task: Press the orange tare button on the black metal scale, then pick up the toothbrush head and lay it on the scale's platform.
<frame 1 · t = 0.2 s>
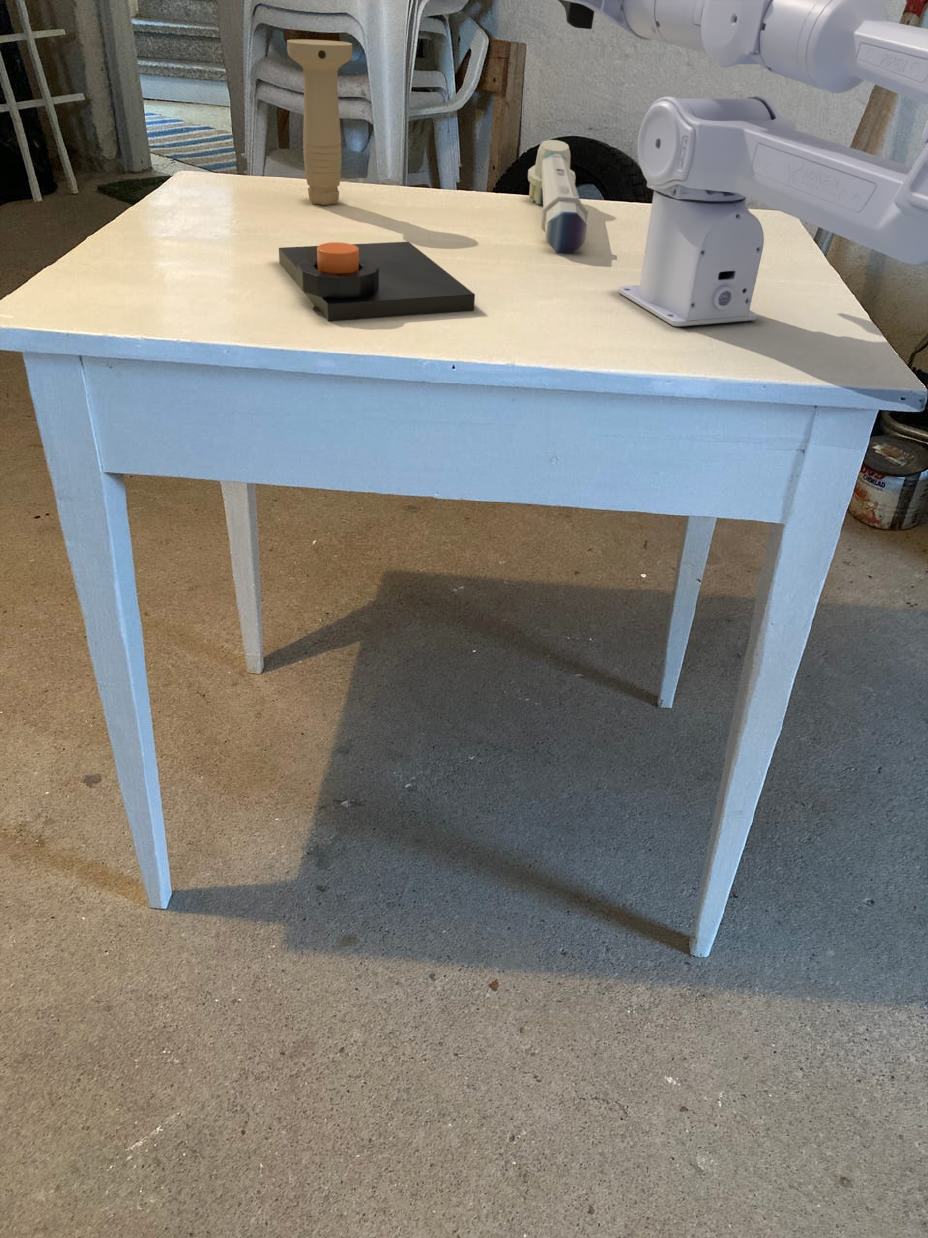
handle: (323, 204, 107), on the table
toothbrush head: (554, 223, 105), on the table
tare button: (338, 259, 76), point 4 cm above the table, slide at 0.1 cm
scale: (372, 286, 83), on the table
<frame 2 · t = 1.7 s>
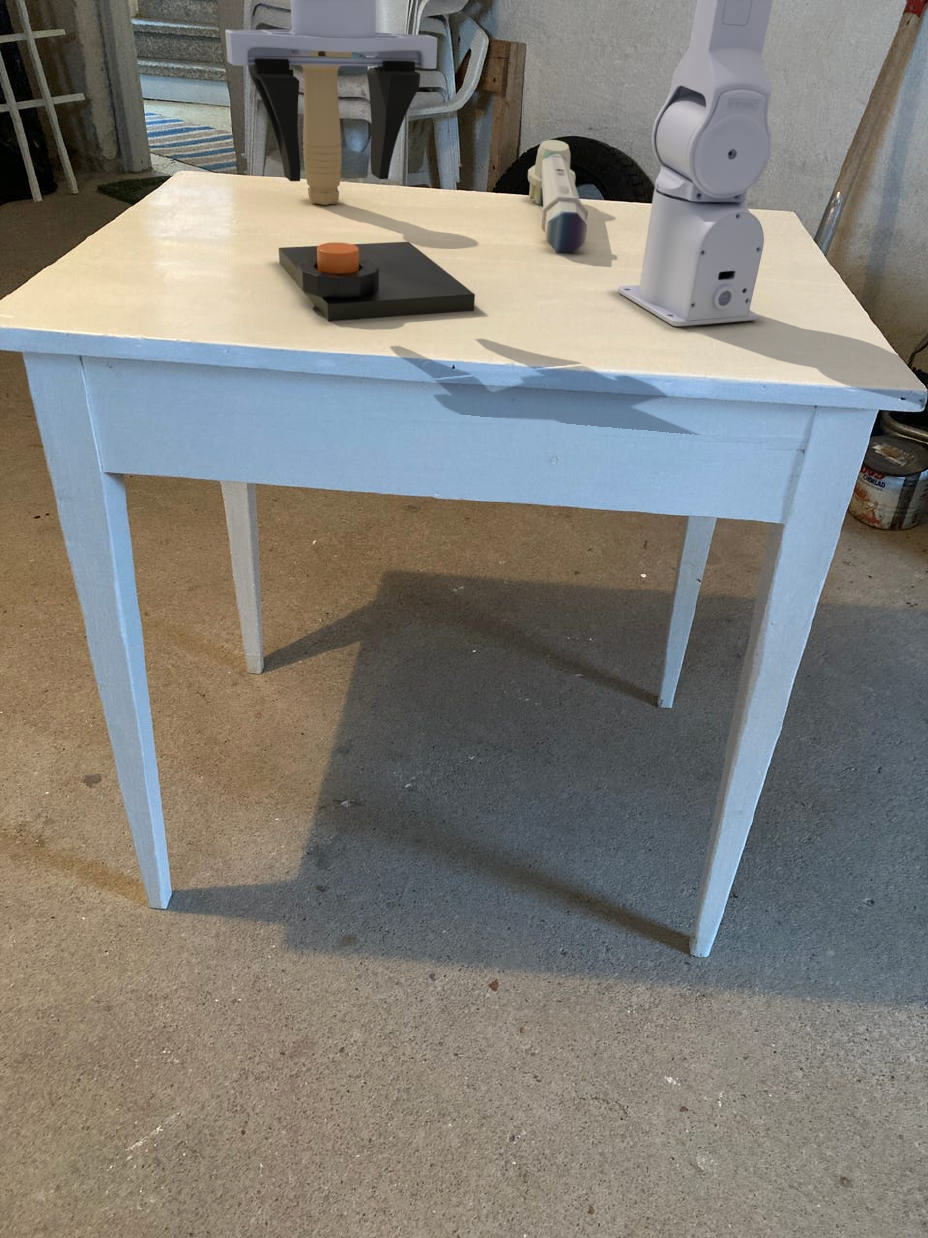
hand: (336, 177, 73), 9 cm above the table, tool pointing down, fingers open, 6 cm apart
nothing on the table moved.
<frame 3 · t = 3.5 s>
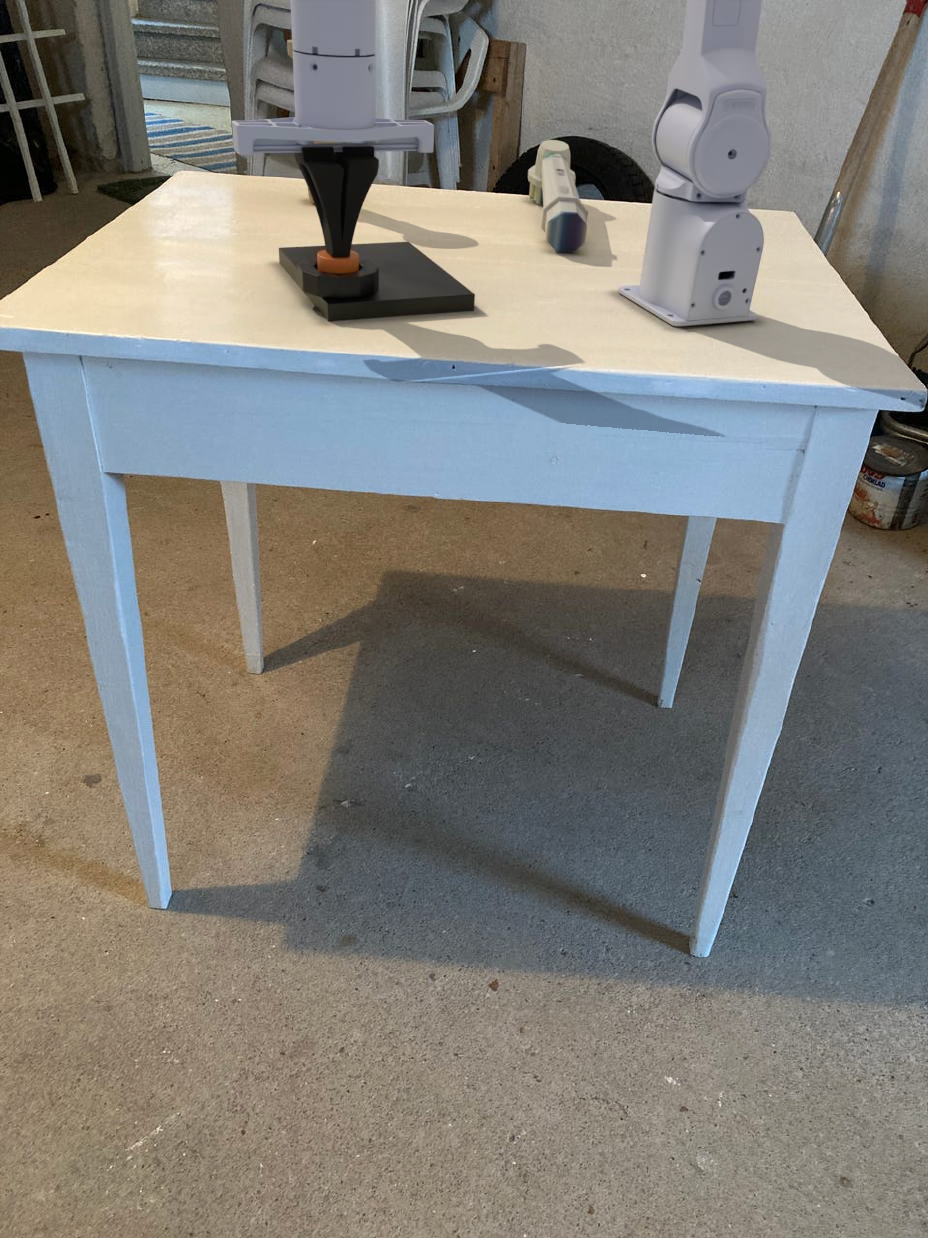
hand: (337, 254, 76), 4 cm above the table, tool pointing down, fingers closed, pressing on tare button
tare button: (338, 265, 77), point 3 cm above the table, slide at -0.3 cm, touching gripper
everything else where it was.
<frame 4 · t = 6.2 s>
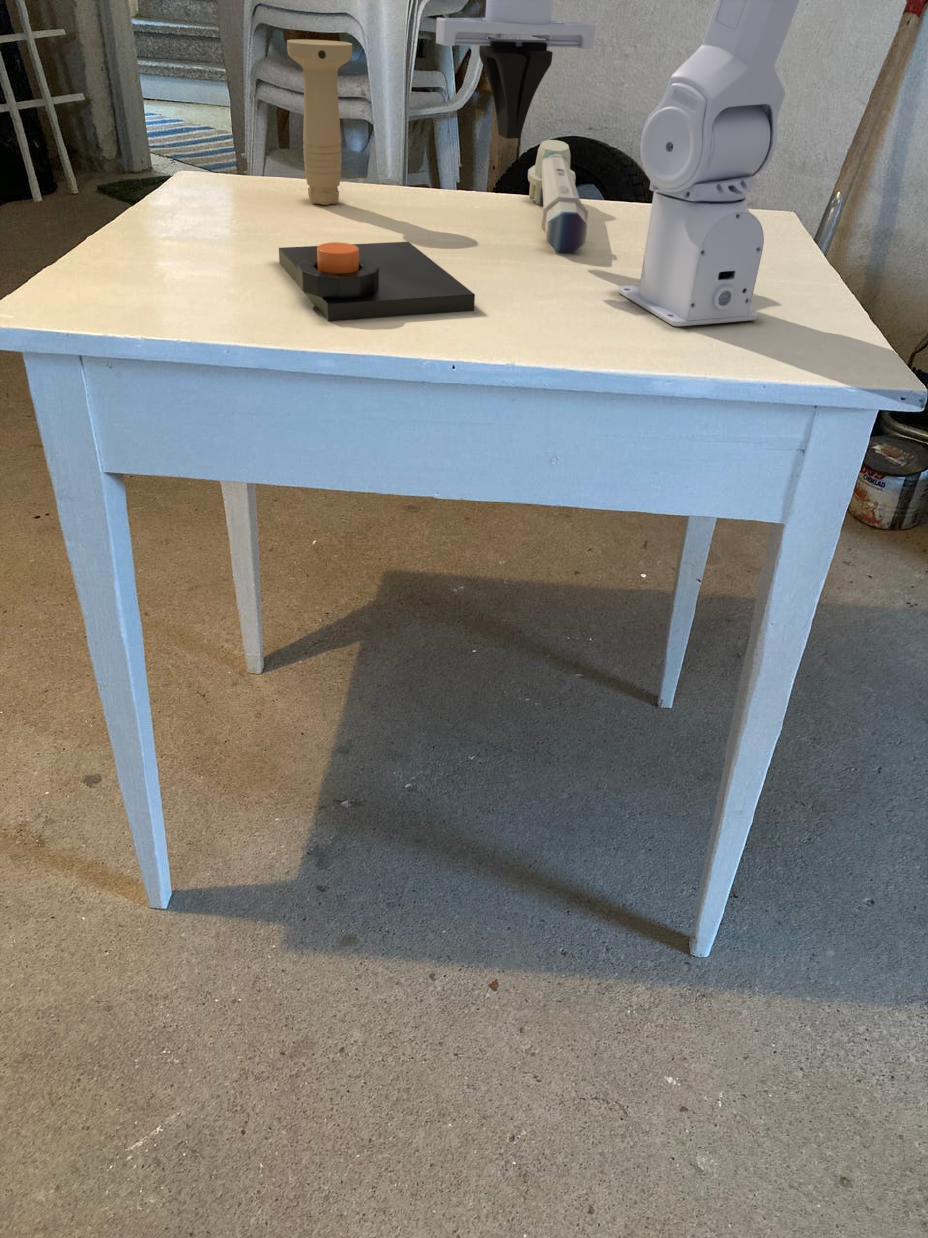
hand: (509, 136, 91), 9 cm above the table, tool pointing down, fingers closed
tare button: (338, 259, 76), point 4 cm above the table, slide at 0.1 cm
everything else where it was.
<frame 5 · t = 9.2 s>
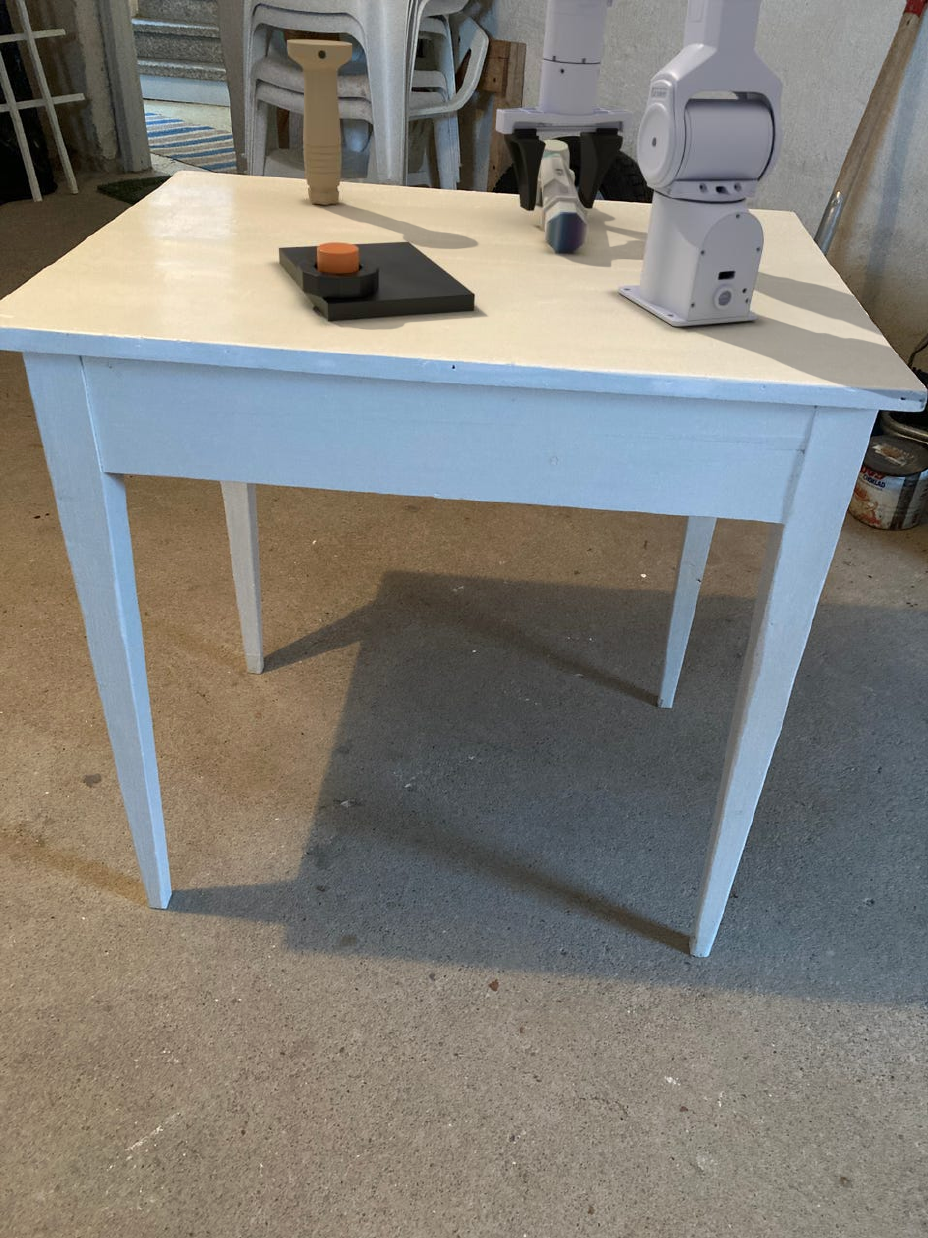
hand: (556, 207, 104), 1 cm above the table, tool pointing down, fingers closed on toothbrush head, 6 cm apart
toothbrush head: (554, 223, 105), on the table, touching gripper
everything else where it was.
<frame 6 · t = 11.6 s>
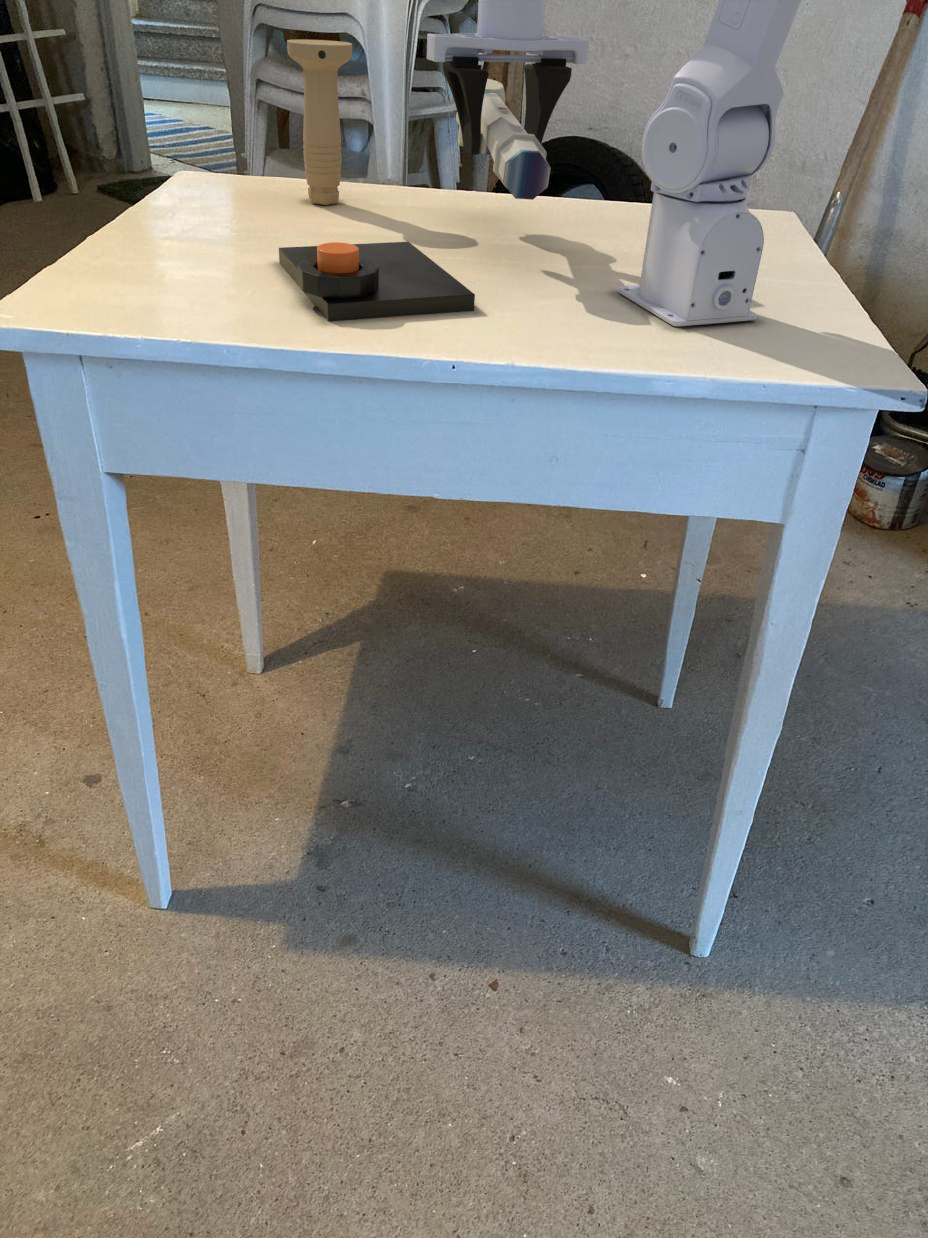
hand: (501, 152, 91), 8 cm above the table, tool pointing down, fingers closed on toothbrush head, 5 cm apart
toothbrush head: (497, 171, 92), point 7 cm above the table, touching gripper
everything else where it was.
when the fingers open (4 cm above the table, at t = 14.5 s): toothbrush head stays where it is, resting on scale.
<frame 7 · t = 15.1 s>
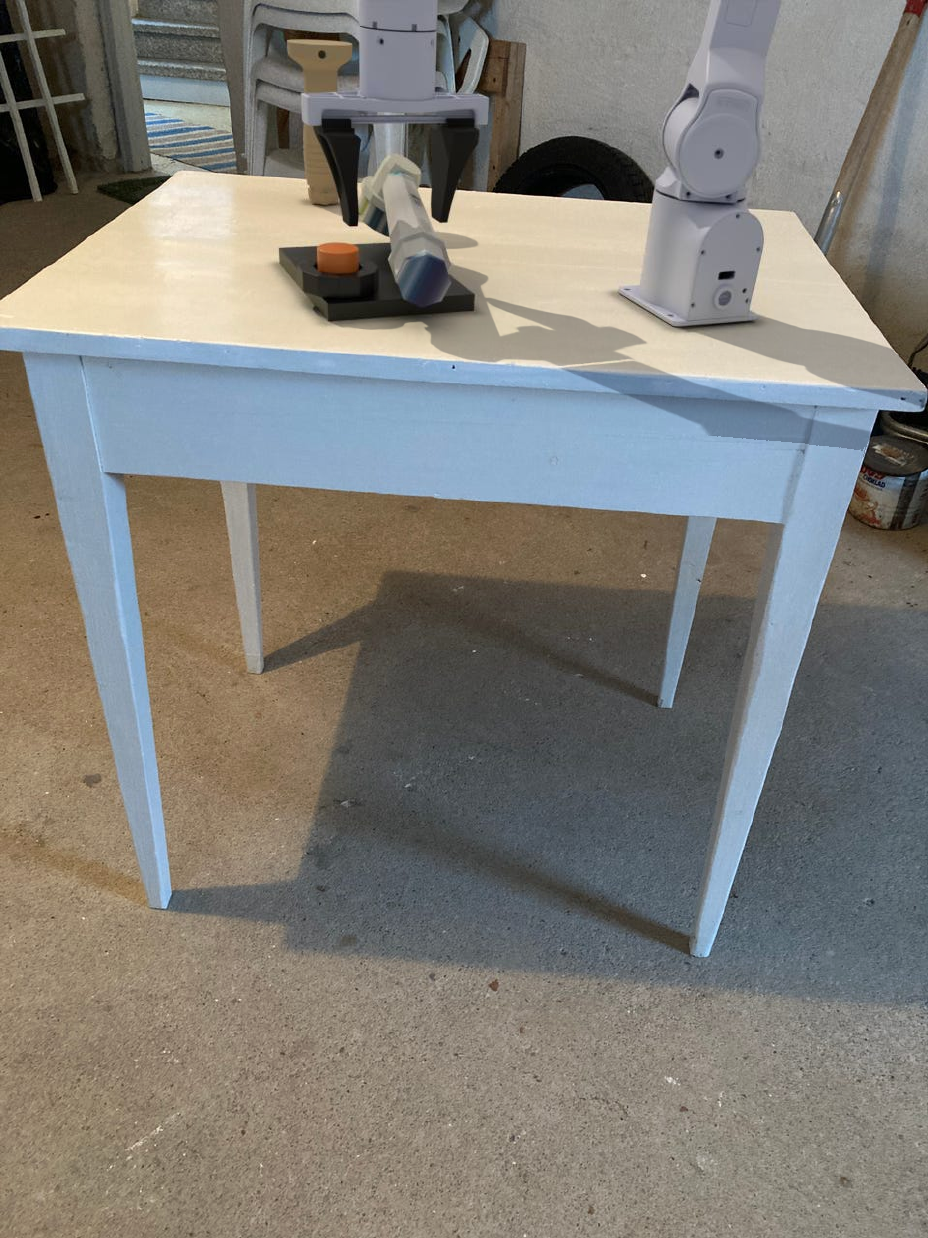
hand: (395, 221, 80), 5 cm above the table, tool pointing down, fingers open, 7 cm apart
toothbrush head: (389, 258, 82), point 2 cm above the table, touching scale
everything else where it was.
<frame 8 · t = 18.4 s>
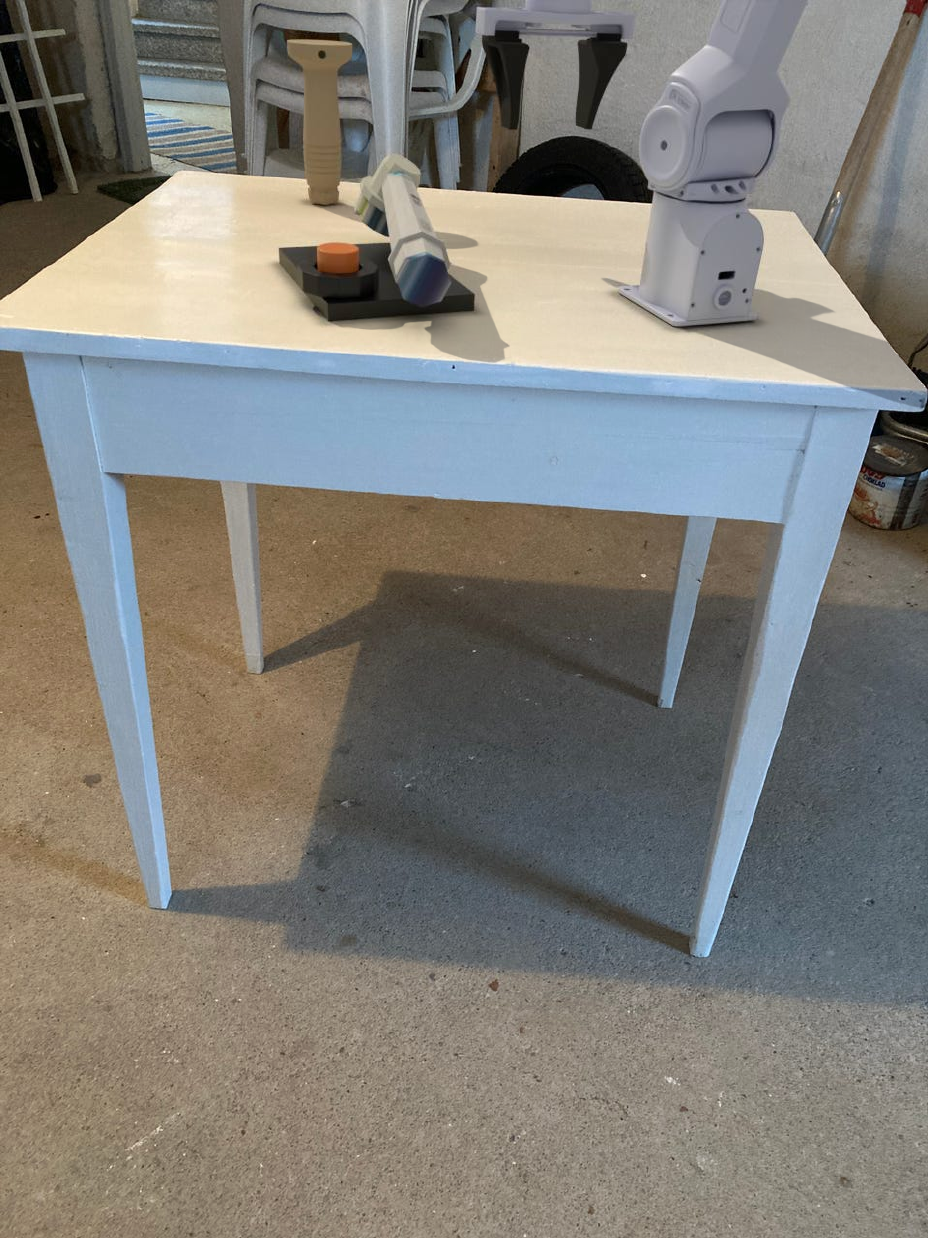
hand: (546, 127, 91), 10 cm above the table, tool pointing down, fingers open, 7 cm apart
nothing on the table moved.
at the end: tare button pushed in 1.0 cm at the most during the clip, back to where it started at the end; tare button slide at 0.1 cm; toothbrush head inside the target area on the scale (0.5 cm from its centre), point 2.1 cm above the scale's base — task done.
